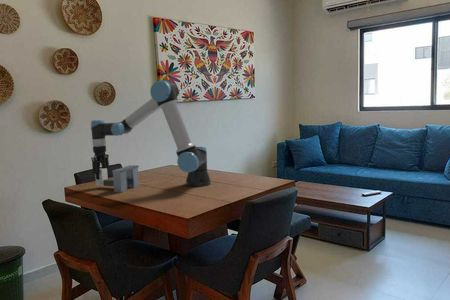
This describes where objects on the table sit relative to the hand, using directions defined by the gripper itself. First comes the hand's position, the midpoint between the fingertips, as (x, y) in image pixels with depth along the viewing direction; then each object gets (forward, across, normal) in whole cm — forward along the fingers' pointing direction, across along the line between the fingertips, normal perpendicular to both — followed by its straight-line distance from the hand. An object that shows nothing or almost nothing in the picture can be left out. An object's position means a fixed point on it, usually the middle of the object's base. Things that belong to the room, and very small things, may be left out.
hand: (102, 183), depth 229 cm
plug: (+1, 0, +7) cm, 7 cm away
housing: (+3, 0, +18) cm, 18 cm away
